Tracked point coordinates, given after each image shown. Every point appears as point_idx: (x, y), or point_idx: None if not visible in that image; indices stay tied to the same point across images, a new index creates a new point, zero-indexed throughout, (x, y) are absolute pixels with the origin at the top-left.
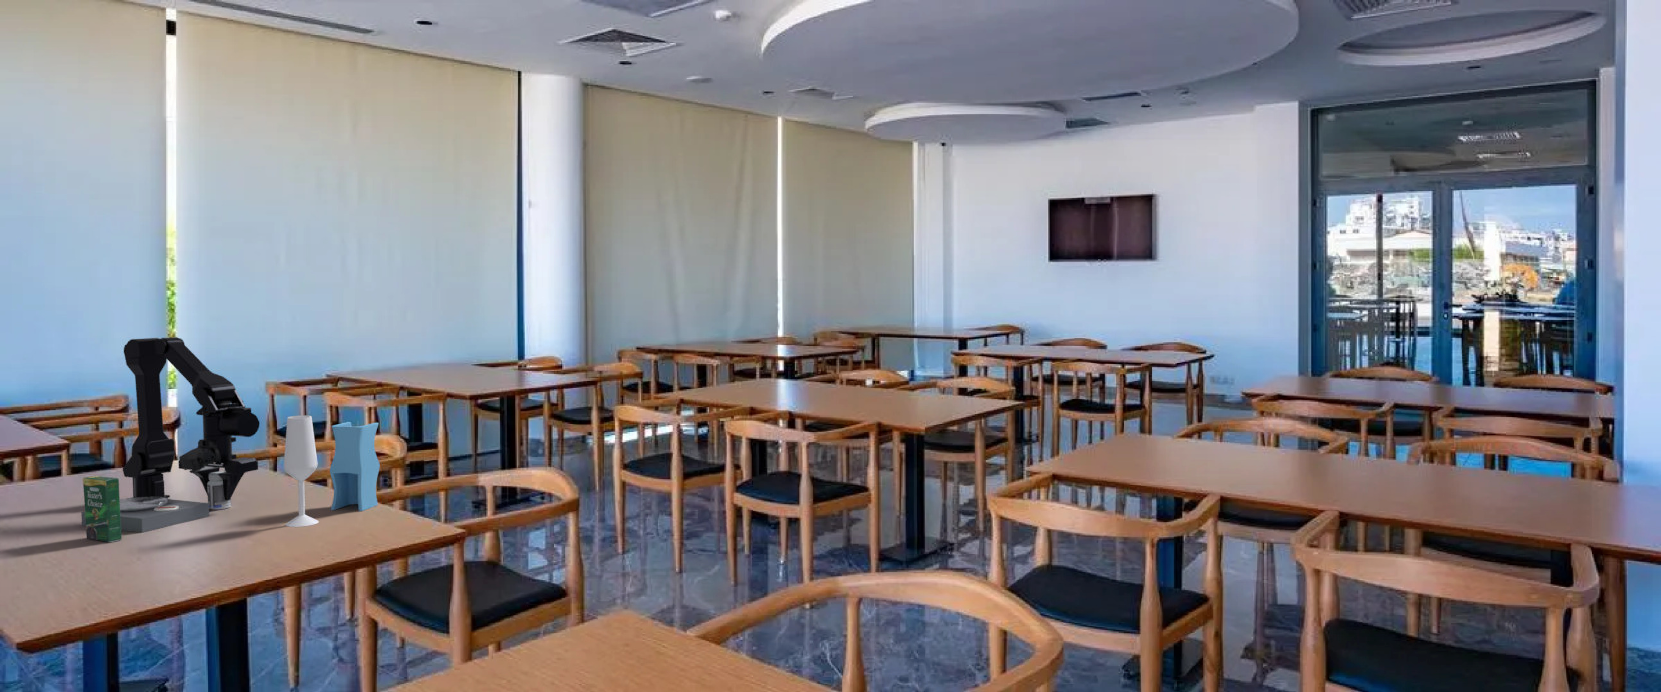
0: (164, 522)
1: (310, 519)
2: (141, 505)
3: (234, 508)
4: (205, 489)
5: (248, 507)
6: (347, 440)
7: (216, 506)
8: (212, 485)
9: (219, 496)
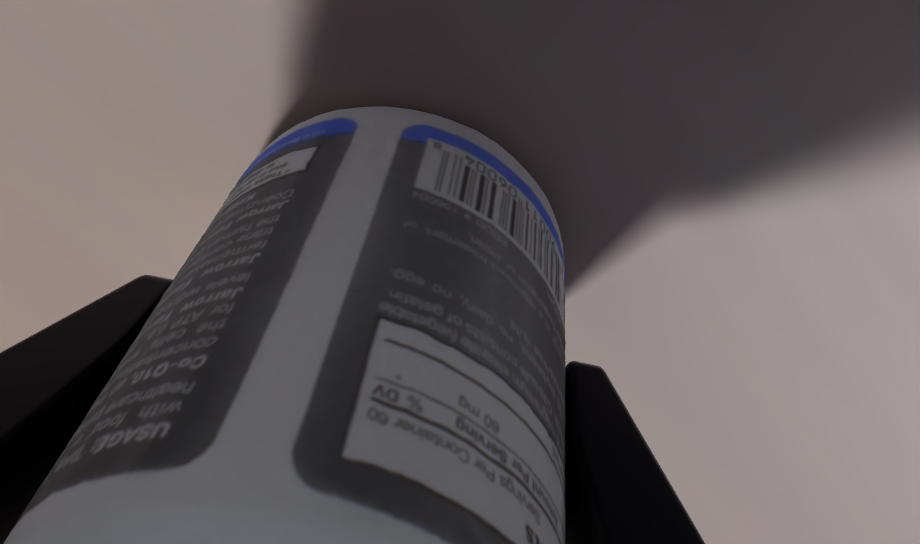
0: None
1: None
2: None
3: (156, 239)
4: (663, 510)
5: (37, 305)
6: None
7: (297, 135)
8: (185, 474)
9: (187, 280)
